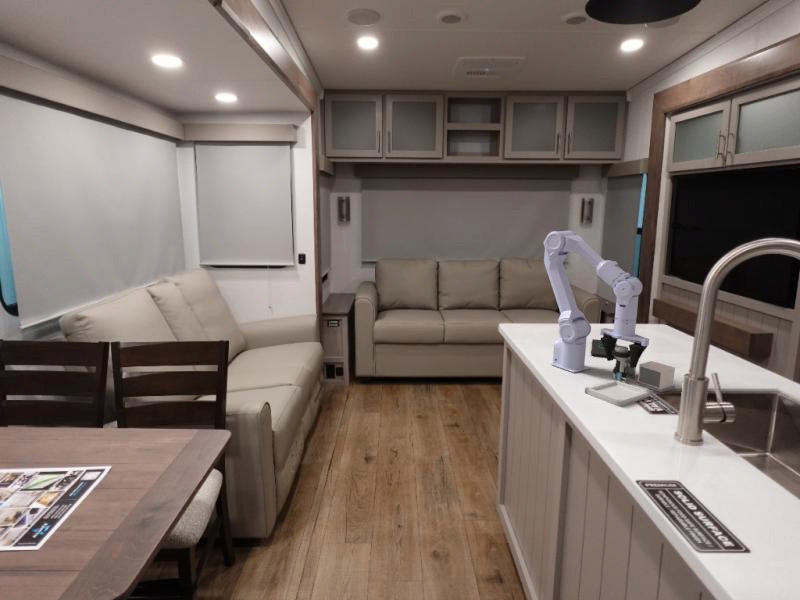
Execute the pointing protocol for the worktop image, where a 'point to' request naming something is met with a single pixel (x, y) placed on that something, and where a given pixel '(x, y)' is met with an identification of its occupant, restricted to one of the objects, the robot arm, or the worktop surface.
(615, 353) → the push button
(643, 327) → the worktop surface
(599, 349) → the smart home device
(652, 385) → the panel
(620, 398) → the tray
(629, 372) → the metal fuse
